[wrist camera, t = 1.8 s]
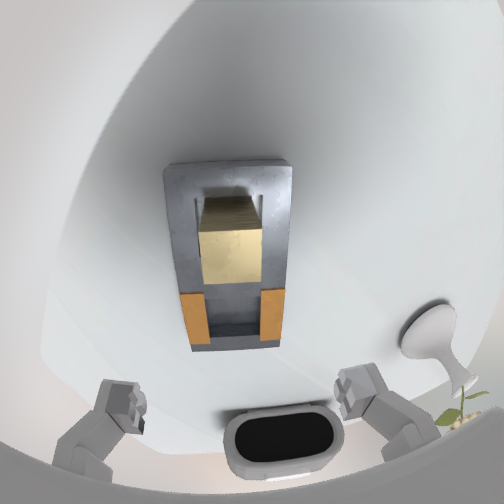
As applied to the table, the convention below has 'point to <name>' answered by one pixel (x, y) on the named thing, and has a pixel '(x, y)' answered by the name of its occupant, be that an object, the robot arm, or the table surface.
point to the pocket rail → (189, 257)
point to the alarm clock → (282, 442)
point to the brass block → (230, 240)
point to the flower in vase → (441, 356)
